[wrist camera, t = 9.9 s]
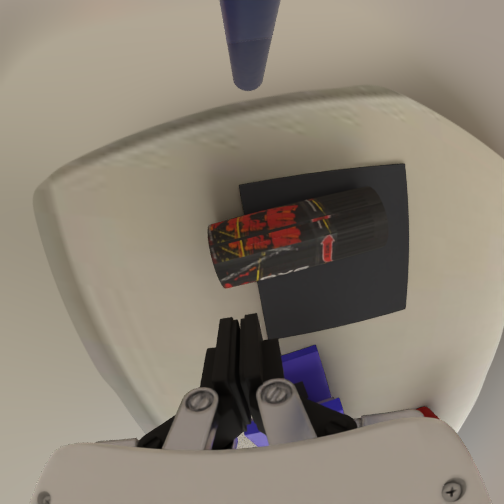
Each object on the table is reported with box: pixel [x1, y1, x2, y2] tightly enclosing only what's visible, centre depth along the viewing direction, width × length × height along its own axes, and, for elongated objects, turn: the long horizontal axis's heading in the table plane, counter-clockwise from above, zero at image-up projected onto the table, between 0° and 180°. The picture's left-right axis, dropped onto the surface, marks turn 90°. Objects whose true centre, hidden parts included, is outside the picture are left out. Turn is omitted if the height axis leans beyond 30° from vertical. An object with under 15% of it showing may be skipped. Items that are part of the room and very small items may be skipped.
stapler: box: [244, 345, 344, 447], centre depth 33 cm, size 12×28×10 cm, turn 20°
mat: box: [239, 164, 409, 340], centre depth 29 cm, size 18×18×1 cm
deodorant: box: [208, 186, 388, 288], centre depth 25 cm, size 6×6×15 cm
